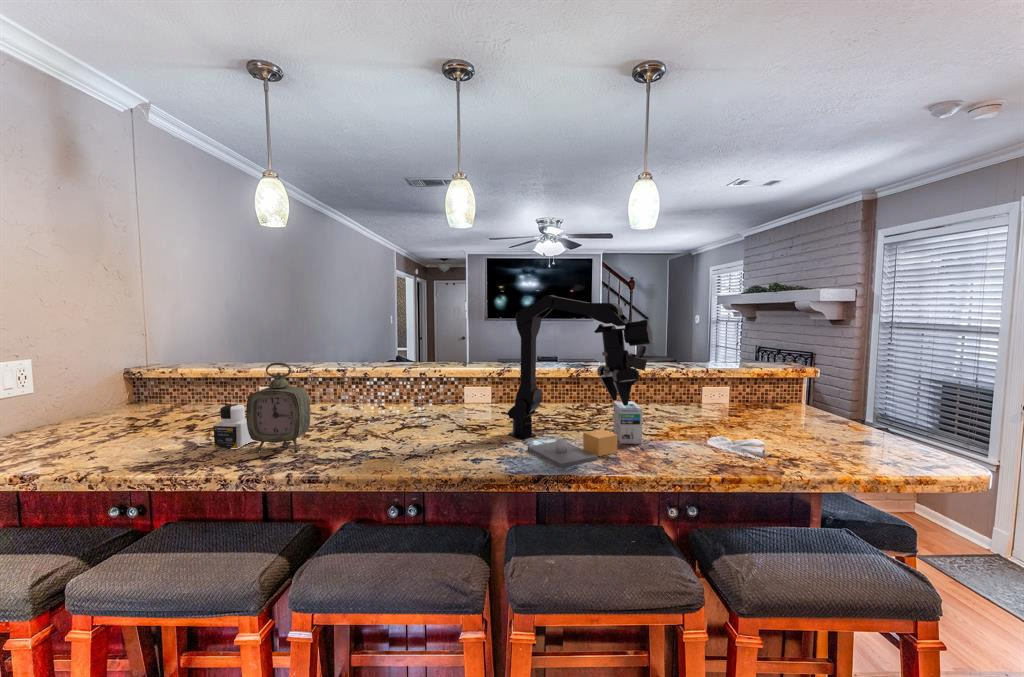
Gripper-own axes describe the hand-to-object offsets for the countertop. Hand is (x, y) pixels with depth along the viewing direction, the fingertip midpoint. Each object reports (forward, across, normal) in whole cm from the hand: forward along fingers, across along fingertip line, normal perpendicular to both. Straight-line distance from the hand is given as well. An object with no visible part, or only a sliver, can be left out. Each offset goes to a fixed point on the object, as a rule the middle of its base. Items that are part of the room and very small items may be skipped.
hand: (620, 402), depth 128 cm
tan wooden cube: (+13, 0, +7) cm, 15 cm away
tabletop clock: (+3, +12, +96) cm, 97 cm away
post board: (+12, -2, +18) cm, 22 cm away
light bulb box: (+14, +11, -4) cm, 18 cm away
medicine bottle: (+1, +17, +112) cm, 113 cm away
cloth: (+18, -2, -35) cm, 39 cm away
